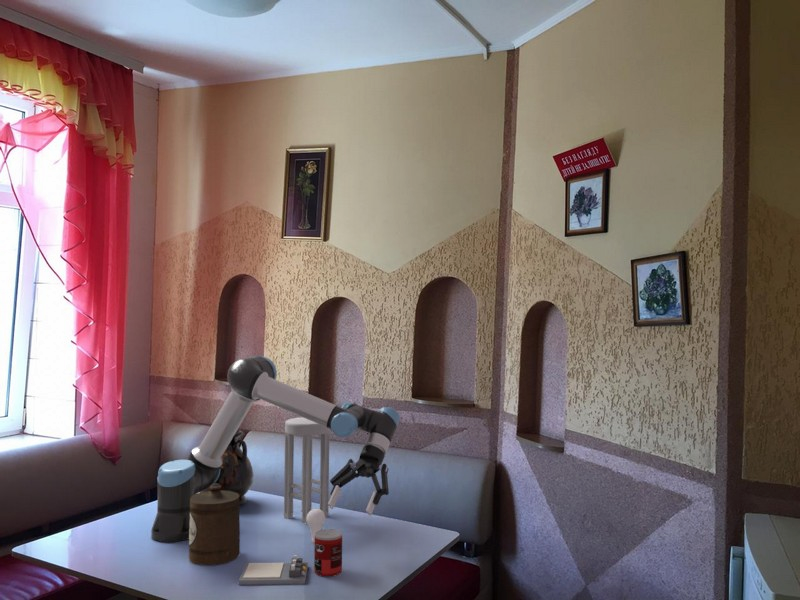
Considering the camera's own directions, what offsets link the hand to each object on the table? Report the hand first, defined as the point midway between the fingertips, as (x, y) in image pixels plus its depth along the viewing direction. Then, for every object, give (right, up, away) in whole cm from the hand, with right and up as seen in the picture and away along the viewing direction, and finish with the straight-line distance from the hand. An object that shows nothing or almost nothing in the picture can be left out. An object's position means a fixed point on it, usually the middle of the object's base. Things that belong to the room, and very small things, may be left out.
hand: (349, 509), depth 199 cm
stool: (-19, -16, +40) cm, 46 cm away
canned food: (-5, -15, -10) cm, 19 cm away
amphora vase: (-52, -15, +53) cm, 76 cm away
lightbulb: (-12, -15, +13) cm, 23 cm away
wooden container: (-41, -15, +1) cm, 44 cm away
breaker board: (-20, -15, -13) cm, 28 cm away
